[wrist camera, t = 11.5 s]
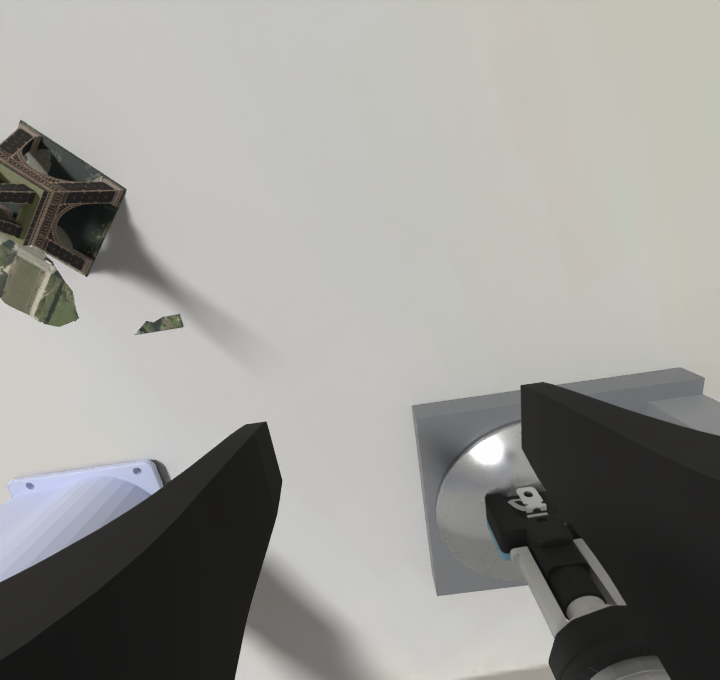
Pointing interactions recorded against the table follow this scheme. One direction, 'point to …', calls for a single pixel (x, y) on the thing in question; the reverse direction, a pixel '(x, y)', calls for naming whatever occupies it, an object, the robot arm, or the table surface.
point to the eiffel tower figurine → (52, 225)
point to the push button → (570, 592)
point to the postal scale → (515, 464)
